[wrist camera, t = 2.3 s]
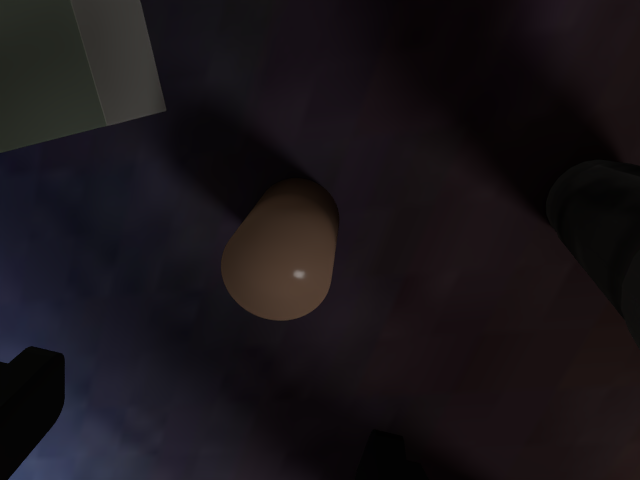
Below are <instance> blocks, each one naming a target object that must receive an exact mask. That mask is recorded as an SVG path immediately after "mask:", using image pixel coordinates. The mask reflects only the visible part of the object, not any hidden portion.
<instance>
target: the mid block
mask: <svg viewBox="0 0 640 480" xmlns="http://www.w3.org/2000/svg"><path fill="white" fill-rule="evenodd" d="M104 126H107V124H106V121H105V117H104V114H103V110H102V107H101V103H100V100H99V97H98V93H97V90H96V86H95V83H94V80H93V76H92V73H91V69H90V66H89V62H88V59H87V56H86V52H85V49H84V45H83V42H82V39H81V35H80V32H79V28H78V25H77V21H76V18H75V15H74V11H73V8H72V4H71V1H70V0H0V153H2V152H6V151H10V150H13V149H17V148H21V147H25V146H29V145H33V144H37V143H41V142H45V141H49V140H53V139H57V138H60V137H64V136H68V135H72V134H76V133H80V132H84V131H88V130H92V129H96V128H100V127H104Z"/></svg>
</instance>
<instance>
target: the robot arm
mask: <svg viewBox="0 0 640 480" xmlns="http://www.w3.org/2000/svg"><path fill="white" fill-rule="evenodd" d="M64 399H65V359H64V355H63V354H62V353H58V352H54V351H50V350H46V349H41V348H37V347H33V346H31V347H28V348H26V349H25V350H23V351H22V352H21V353H20V354H19V355H18V356H16V357H15V358H14V359H13V360H12V361H11V362H10V363H8V364H7V363H3V362H0V480H8V479H9V478H10V477H11V475H12V474H13V473H14V472H15V471H16V469H17V468H18V467H19V466H20V465H21V463H22V462H23V461H24V460H25V459H26V457H27V456H28V455H29V454H30V453H31V451H32V450H33V449H34V448H35V447H36V445H37V444H38V443H39V442H40V441H41V439H42V438H43V437H44V436H45V435H46V433H47V432H48V431H49V430H50V429H51V427H52V426H53V425H54V424H55V422H56V421H57V419H58V417H59V415H60V413H61V411H62V408H63V405H64ZM355 480H429V479H428V477H427V475H426V474H425V472H424V470H423V468H422V466H421V464H420V463H416V462H412V461H407V460H406V455H405V446H404V440H403V437H402V436H399V435H395V434H391V433H387V432H383V431H378V430H372V432H371V434H370V437H369V439H368V442H367V445H366V448H365V450H364V453H363V456H362V458H361V461H360V464H359V467H358V469H357V473H356V477H355Z"/></svg>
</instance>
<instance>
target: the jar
mask: <svg viewBox="0 0 640 480" xmlns="http://www.w3.org/2000/svg"><path fill="white" fill-rule="evenodd" d="M338 228H339V212H338V208H337V205H336V203H335V201H334V199H333V197H332V196H331V195H330V193H329V192H328V191H327V190H326V189H324V188H323V187H322V186H320V185H319V184H317V183H315V182H313V181H310V180H307V179H302V178H290V179H285V180H282V181H279V182H277V183H275V184H274V185H272V186H271V187H270V188H269V189H268V190H266V192H265V193H264V194H263V195H262V197H261V198H260V199H259V201H258V202H257V204H256V205H255V206H254V208H253V209H252V210H251V212H250V213H249V214H248V216H247V217H246V218H245V220H244V221H243V222H242V224H241V225H240V226H239V228H238V229H237V230H236V232H235V233H234V234H233V236H232V237H231V239H230V240H229V241H228V243H227V245H226V246H225V249H224V251H223V255H222V259H221V273H222V278H223V281H224V284H225V286H226V288H227V290H228V292H229V293H230V295H231V296H232V298H233V299H234V300H235V301H236V302H237V303H238V304H239V305H240V306H241V307H243V308H244V309H245V310H247V311H249V312H250V313H252V314H254V315H256V316H259V317H262V318H265V319H270V320H279V321H280V320H291V319H296V318H299V317H302V316H304V315H306V314H308V313H310V312H311V311H313V310H314V309H315V308H317V307H318V305H319V304H320V303H321V302H322V301H323V299H324V298H325V296H326V295H327V293H328V290H329V287H330V283H331V278H332V271H333V264H334V257H335V250H336V243H337V236H338Z"/></svg>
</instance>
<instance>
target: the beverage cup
mask: <svg viewBox="0 0 640 480" xmlns="http://www.w3.org/2000/svg"><path fill="white" fill-rule="evenodd" d="M546 215H547V217H548V220H549V222H550V225H551V226H552V227H553V228H554V229H555V231H556V232H557V234H558V237H559V238H560V240H561V241H562V242H563V243H564V245H565V246H566V247H567V248H568V250H569V251H570V252H571V253H572V255H573V256H574V257H575V258H576V260H577V261H578V262H579V263H580V265H581V266H582V267H583V268H584V270H585V271H586V272H587V273H588V275H589V276H590V277H591V278H592V280H593V281H594V282H595V283H596V285H597V286H598V287H599V288H600V290H601V291H602V292H603V293H604V295H605V296H606V297H607V298H608V300H609V301H610V302H611V303H612V305H613V306H614V307H615V308H616V310H617V311H618V312H619V313H620V315H621V316H622V317H623V318H624V320H625V321H626V324H627V326H628V329H629V332H630V333H631V335H632V337H633V339H634V340H635V342H636V344H637V346H638V348H639V349H640V166H638V165H634V164H628V163H620V162H613V161H607V160H600V159H597V160H591V161H585V162H582V163H580V164H578V165H575V166H573V167H571V168H569V169H568V170H567V171H566V172H564V173H563V174H562V175H561V176H560V177H558V179H557V180H556V182H555V183H554V184H553V186H552V187H551V189H550V191H549V194H548V197H547V200H546Z"/></svg>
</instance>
